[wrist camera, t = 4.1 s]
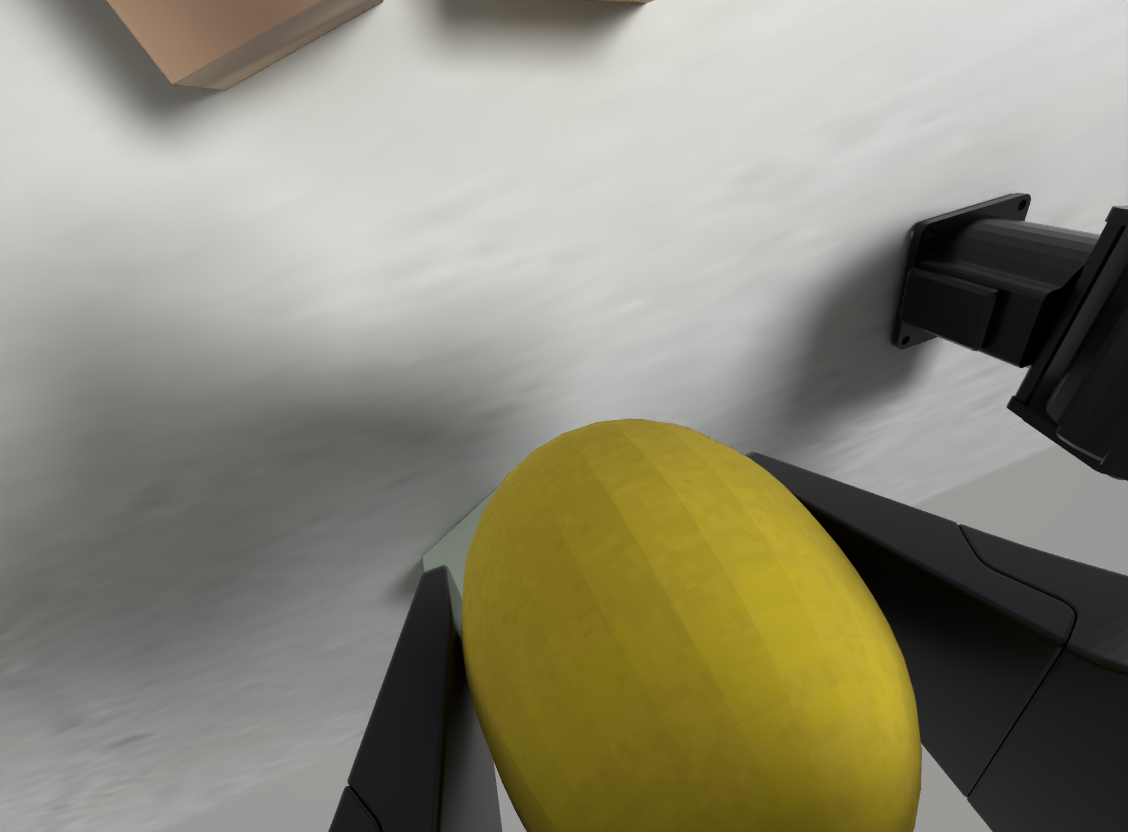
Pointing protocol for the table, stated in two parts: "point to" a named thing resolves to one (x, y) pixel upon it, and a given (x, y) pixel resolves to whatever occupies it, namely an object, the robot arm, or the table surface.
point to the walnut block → (229, 34)
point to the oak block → (637, 0)
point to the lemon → (680, 647)
